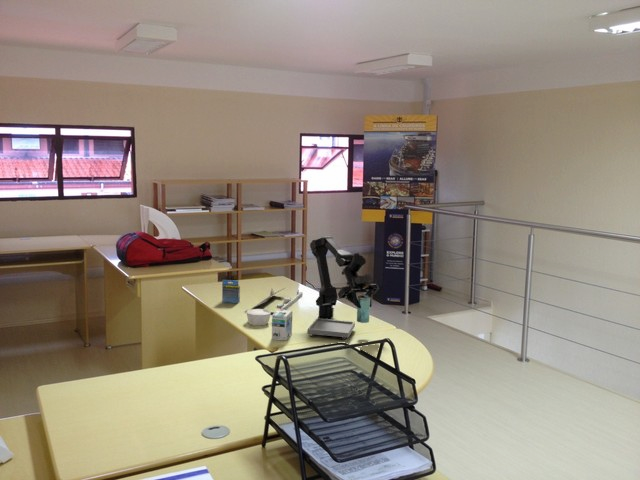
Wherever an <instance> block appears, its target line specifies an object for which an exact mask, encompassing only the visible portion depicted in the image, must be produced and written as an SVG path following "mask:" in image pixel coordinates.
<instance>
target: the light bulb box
mask: <svg viewBox="0 0 640 480" xmlns="http://www.w3.org/2000/svg"><path fill="white" fill-rule="evenodd" d="M280 309H281V308H278V309H277V310H276V311H274V313H272V315H271V340H279V341H287V340H288V339H289V338H290V337H291V335H293V310H289V309H288V310H287V309H286V310H280Z"/></svg>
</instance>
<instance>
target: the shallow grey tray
mask: <svg viewBox="0 0 640 480" xmlns="http://www.w3.org/2000/svg"><path fill="white" fill-rule="evenodd" d="M355 323H356V322H355V321H350V320H340V319H321V318H318V317H317V318H315V320H314V321H312V323H311V324H310V326H308V328H307V334H308V335H309V334H310V337H312V338H315V335H319V336H331V337H340V338H342V341H346V340H347V339H348V338H349V337H350V336H351V333H352V332H353V330H354V328H355V325H356V324H355Z"/></svg>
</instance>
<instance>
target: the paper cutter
mask: <svg viewBox="0 0 640 480" xmlns="http://www.w3.org/2000/svg"><path fill="white" fill-rule="evenodd" d="M285 289H286V287H284V288H282V289H280V290H278V291H276V292H274V288H271V290H270V295H269V296H267V297H266V298H264V299H263V300H261V301H260V302H259V303H257V304H256V305H254V306H253V307H252V309H255V308H257V307H258V306H261V305H262V304H264V303H267V302H268V301H269V300H270V299H271V298H272V297H273V296H274V295H276V294H278V293H280V292H281V291H283V290H285ZM303 295H304V294H303V292H302V291H300V290H299V289H297V292H296V296H295V297H293V298H290V297H284V298H283V303H278V304H276V308H278V309H280V310H287V309H289V307H292V305H293V304H295V303H296V302H297V301H299V299H300V298H302V297H303ZM285 303H286V304H285ZM270 312H271V314H274V313H275V311H274V312H272V311H270Z"/></svg>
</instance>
